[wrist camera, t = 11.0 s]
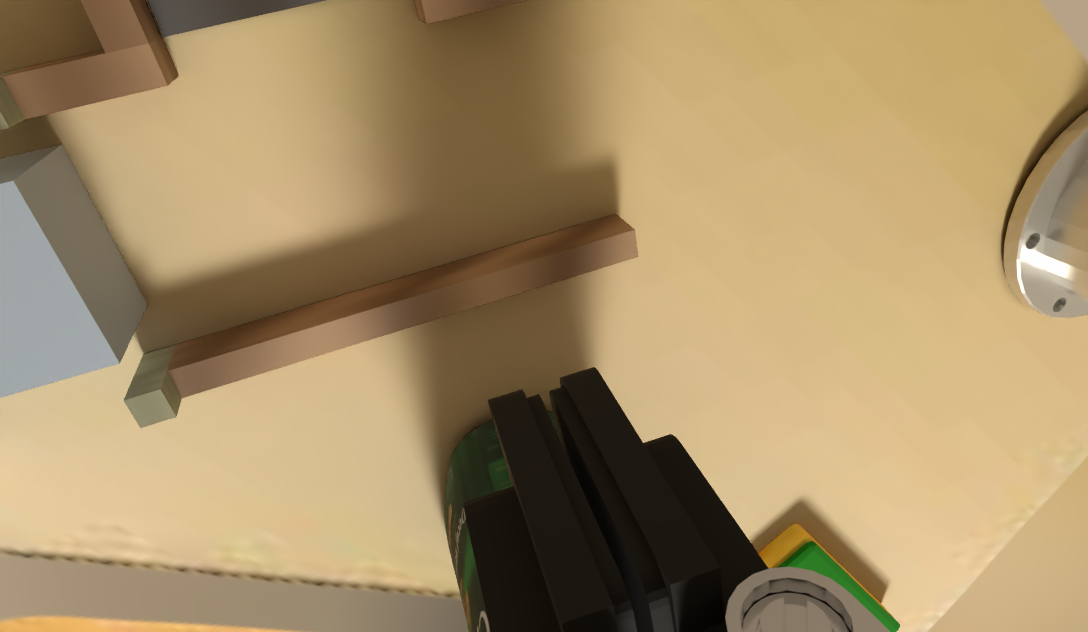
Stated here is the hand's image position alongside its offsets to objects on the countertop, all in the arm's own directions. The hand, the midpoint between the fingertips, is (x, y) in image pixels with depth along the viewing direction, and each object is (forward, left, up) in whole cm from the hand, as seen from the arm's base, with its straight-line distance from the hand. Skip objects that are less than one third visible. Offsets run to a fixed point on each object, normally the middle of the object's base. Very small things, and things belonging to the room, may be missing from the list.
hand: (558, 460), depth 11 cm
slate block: (+14, -1, -18) cm, 23 cm away
